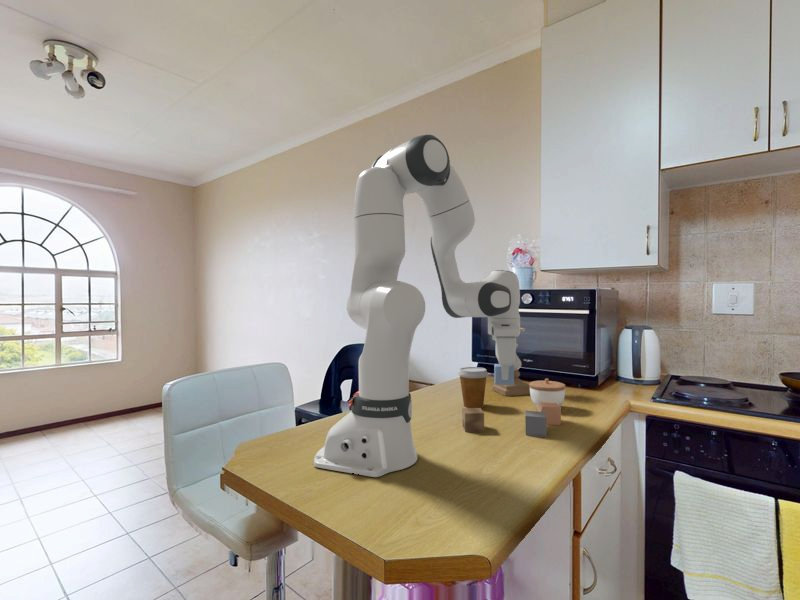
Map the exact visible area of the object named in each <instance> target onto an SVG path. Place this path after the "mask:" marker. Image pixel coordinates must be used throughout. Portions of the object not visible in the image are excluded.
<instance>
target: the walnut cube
mask: <svg viewBox="0 0 800 600" xmlns="http://www.w3.org/2000/svg"><path fill="white" fill-rule="evenodd" d="M461 409H462V410H461V411H462V412H461V415H462V417H461V418H462V421H461V422H462V427H463V430H464V432H465V433H485V412H484V411H483V410H482V407H481V408H468V407H462V408H461Z"/></svg>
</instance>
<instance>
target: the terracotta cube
mask: <svg viewBox="0 0 800 600" xmlns="http://www.w3.org/2000/svg"><path fill="white" fill-rule="evenodd" d="M537 405H538V408H537V411H538V412H546V426H547V425H548V426H549V425H550V426H551V425H553V426H554V425H555V426H557V425H558V426H561V425H562V411H561V410H562V407H561V406H559V405H558V404H557V403H556V402H537Z"/></svg>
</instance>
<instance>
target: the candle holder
mask: <svg viewBox="0 0 800 600" xmlns="http://www.w3.org/2000/svg"><path fill="white" fill-rule="evenodd" d="M525 330H526V328H525V327H520V333H521V332H525ZM518 347H519V344H518V343H517V342H516V350H515V360H514V364H513V366H514V385H495V383H494V384H492V385H491V386H492V387H491V389H492V391H493V392H495V393H497V394H499V395H502V396H504V397H515V396H516V397H517V396H528V395H530V387H529V383H526V382H524V381H523V380H522V379H520V378H519V377H520V376H521V372H520V371H519V369H520V368H521V367H522V360H521V359H520V358H519V356H518V355H517V352H516V351H517V348H518Z"/></svg>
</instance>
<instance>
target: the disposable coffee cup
mask: <svg viewBox="0 0 800 600" xmlns="http://www.w3.org/2000/svg"><path fill="white" fill-rule="evenodd" d="M488 375H489V373H488V371H487V369H486V368H484V367H480V366H479V367H477V366H465V367H461V368H459V370H458V376H459V378H460V387H461V394H462V401H463V403H462V404H463V406H464V408H481V409H482V408H483V407H484V403H485V394H486V392H485V391H486V384H487V377H488Z"/></svg>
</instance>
